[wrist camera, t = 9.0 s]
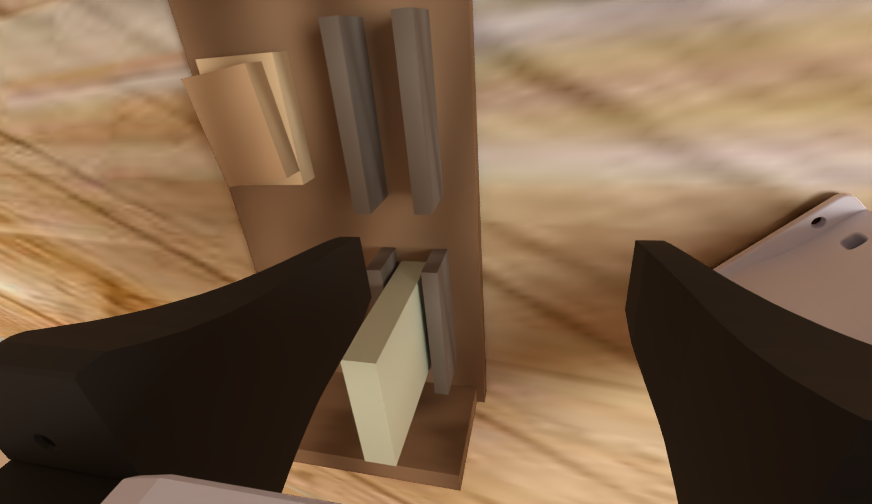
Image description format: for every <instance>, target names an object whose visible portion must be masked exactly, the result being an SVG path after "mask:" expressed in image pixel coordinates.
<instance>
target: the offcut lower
mask: <svg viewBox="0 0 872 504" xmlns="http://www.w3.org/2000/svg"><path fill="white" fill-rule="evenodd" d="M195 60H196V63H197V66H198V70H199V73H200V74H204V73H208V72H212V71H216V70H219V69H223V68H227V67H231V66H235V65H239V64H243V63H250V62H259V61H262V64H263V67H264V70H265V73H266V76H267V79H268V81H269V84H270V87H271V90H272V93H273V96H274V98H275V101H276V104H277V107H278V110H279V113H280V116H281V118H282V121H283V124H284V127H285V130H286V133H287V135H288V138H289V141H290V144H291V147H292V150H293V152H294V155H295V158H296V161H297V164H298V167H299V170H300V171H299V172H297V173H295V174H293V175H292V176H290V177H288V178H285V179H279V180H272V181H265V182H259V183H252V184H246V185H304V184H306V183H307V182H309V181H310V180H312V179H313V178H315V176H314V171H313V167H312V162H311V158H310V153H309V149H308V144H307V140H306V135H305V131H304V126H303V122H302V117H301V113H300V109H299V104H298V100H297V95H296V91H295V86H294V82H293V77H292V73H291V68H290V64H289V59H288V55H287V51H280V52H269V53H258V54H248V55H237V56H227V57H216V58H206V59H195Z"/></svg>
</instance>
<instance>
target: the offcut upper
mask: <svg viewBox="0 0 872 504" xmlns="http://www.w3.org/2000/svg"><path fill="white" fill-rule="evenodd" d="M181 80H182V82H183V84H184V86H185V89H186V91H187V93H188V96H189V98H190V100H191V103H192V105H193V107H194V109H195V112H196V114H197V116H198V119H199V121H200V123H201V125H202V128H203V130H204V132H205V135H206V137H207V139H208V142H209V144H210V146H211V148H212V151H213V153H214V155H215V158H216V160H217V162H218V165H219V167H220V169H221V171H222V174H223V176H224V178H225V181H226V183H227V185H228V187H232V186H239V185H246V184H252V183H259V182H265V181H272V180H279V179H285V178H288V177H290V176H292V175H293V174H295V173H297V172H299V171H300V170H299V167H298V164H297V161H296V158H295V155H294V152H293V150H292V147H291V144H290V141H289V138H288V135H287V133H286V130H285V127H284V124H283V121H282V118H281V116H280V113H279V110H278V107H277V104H276V101H275V98H274V96H273V93H272V90H271V87H270V84H269V81H268V79H267V76H266V73H265V70H264V67H263V64H262V61H259V62H250V63H243V64H239V65H235V66H231V67H227V68H223V69H219V70H216V71H212V72H208V73H204V74H200V75H196V76H192V77H188V78H184V79H181Z"/></svg>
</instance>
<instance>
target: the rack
mask: <svg viewBox="0 0 872 504" xmlns="http://www.w3.org/2000/svg"><path fill="white" fill-rule="evenodd" d="M168 1H169V4H170V7H171V10H172V14H173V17H174V20H175V23H176V26H177V29H178V32H179V35H180V38H181V41H182V44H183V47H184V50H185V54H186V57H187V60H188V63H189V66H190V69H191V72H192V75H193V76H196V75H200V73H199V70H198V66H197V63H196V60H195V59H206V58H216V57H227V56H237V55H248V54H258V53H269V52H280V51H287V55H288V59H289V64H290V68H291V73H292V77H293V82H294V86H295V91H296V95H297V100H298V104H299V109H300V113H301V117H302V122H303V126H304V131H305V135H306V140H307V144H308V149H309V153H310V158H311V162H312V167H313V171H314V176H315V178H313V179H312V180H310V181H309V182H307V183H306V184H304V185H239V186H232V187H229V189H230V192H231V195H232V198H233V201H234V204H235V207H236V210H237V213H238V216H239V219H240V223H241V226H242V229H243V232H244V235H245V238H246V241H247V244H248V247H249V250H250V253H251V256H252V259H253V262H254V266H255V269H256V272H257V273H258V272H260V271H263V270H265V269H267V268H269V267H272V266H274V265H276V264H279V263H281V262H283V261H285V260H287V259H289V258H291V257H293V256H295V255H298V254H300V253H302V252H304V251H306V250H308V249H310V248H312V247H315V246H317V245H319V244H321V243H324V242H326V241H328V240H331V239H334V238H337V237H360V240H361V245H362V250H363V255H364V260H365V265H366V271H367V276H368V281H369V286H370V291H371V296H372V298H371V301H370V303H369V306H368V309H367V312H366V314H365V317H364V319H363V322H364V320H365V319H366V317H367V315H368V314H369V312H370V311H371V309H372V307H373V306H374V304H375V303H376V301H377V299H378V298H379V296H380V295H381V293H382V291H383V290H384V288H385V287H386V285H387V283H388V282H389V280H390V279H391V277H392V275H393V274H394V272H395V270H396V269H397V267H398V266H399V264H400V262H401V261H418V262H426V263H425V265H424V267H423V269H422V271H421V278H422V287H423V296H424V304H425V313H426V322H427V331H428V339H429V348H430V357H431V366H430V369H429V372H428V375H427V378H426V381H425V384H424V386H423V389H422V392H421V395H420V398H419V401H418V404H417V407H416V410H415V413H414V416H413V419H412V422H411V425H410V427H409V430H408V433H407V436H406V439H405V442H404V445H403V448H402V451H401V454H400V457H399V460H398V463H397V466H392V465H386V464H380V463H373V462H367V461H365V459H364V455H363V451H362V447H361V443H360V439H359V435H358V431H357V427H356V423H355V419H354V415H353V411H352V407H351V403H350V399H349V395H348V391H347V387H346V383H345V379H344V375H343V371H342V367H341V363H340V364H339V365H338V367H337V369H336V371H335V372H334V374H333V376H332V378H331V379H330V381H329V383H328V385H327V386H326V388H325V390H324V392H323V394H322V396H321V398H320V400H319V402H318V404H317V406H316V408H315V411H314V413H313V415H312V417H311V420H310V422H309V424H308V427H307V429H306V431H305V434H304V436H303V438H302V441H301V443H300V446H299V448H298V451H297V453H296V456H295V458H294V462H300V463H306V464H311V465H317V466H323V467H329V468H334V469H340V470H346V471H351V472H357V473H363V474H369V475H374V476H380V477H386V478H391V479H397V480H403V481H409V482H414V483H420V484H426V485H432V486H437V487H443V488H449V489H454V490H461V485H462V479H463V474H464V468H465V463H466V457H467V452H468V447H469V441H470V436H471V430H472V425H473V419H474V414H475V409H476V403H477V401H478V402H485V397H486V364H485V336H484V308H483V281H482V253H481V225H480V198H479V170H478V143H477V115H476V87H475V60H474V32H473V5H472V0H168ZM363 322H362V324H363ZM362 324H361V325H362ZM360 327H361V326H360Z"/></svg>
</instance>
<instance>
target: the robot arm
mask: <svg viewBox="0 0 872 504" xmlns="http://www.w3.org/2000/svg"><path fill="white" fill-rule="evenodd" d="M818 217H821V220H820V221H819V222H818V223H816V224H814V225H813V224H811V223H812V221H813V220H814V219H815V218H818ZM371 298H372V296H371V291H370V286H369V281H368V276H367V271H366V265H365V260H364V255H363V250H362V245H361V240H360V237H337V238H334V239H331V240H328V241H326V242H324V243H321V244H319V245H317V246H315V247H312V248H310V249H308V250H306V251H304V252H302V253H300V254H298V255H295V256H293V257H291V258H289V259H287V260H285V261H283V262H281V263H279V264H276V265H274V266H272V267H269V268H267V269H265V270H263V271H260V272H258V273H256V274H253V275H251V276H249V277H247V278H244V279H242V280H239V281H237V282H234V283H232V284H229V285H226V286H223V287H221V288H218V289H215V290H212V291H209V292H206V293H203V294H200V295H197V296H194V297H190V298H187V299H183V300H180V301H176V302H173V303H169V304H165V305H162V306H158V307H155V308H151V309H146V310H142V311H138V312H134V313H129V314H125V315H120V316H115V317H110V318H105V319H100V320H95V321H89V322H83V323H77V324H70V325H64V326H57V327H51V328H45V329H38V330H30V331H25V332H21V333H18V334H16V335H13V336H10V337H8V338H7V339H5V340H3V341H2V342H0V450H1V451H2V452H3V453H4V454H5V455H6V456H7V458H8V459H11V460H10V461H9V462H8V463H7V464H5V465H4V466H3V467H2V468H1V469H0V504H340V503H334V502H329V501H323V500H317V499H311V498H306V497H299V496H294V495H288V494H282V490H283V488H284V485H285V482H286V479H287V476H288V474H289V471H290V468H291V466H292V463H293V461H294V458H295V456H296V453H297V451H298V448H299V446H300V443H301V441H302V438H303V436H304V434H305V431H306V429H307V427H308V424H309V422H310V420H311V417H312V415H313V413H314V411H315V408H316V406H317V404H318V402H319V400H320V398H321V396H322V394H323V392H324V390H325V388H326V386H327V385H328V383H329V381H330V379H331V378H332V376H333V374H334V372H335V371H336V369H337V367H338V365H339V364H340V362H341V360H342V358H343V357H344V355H345V353H346V352H347V350H348V348H349V346H350V345H351V343H352V341H353V339H354V337H355V336H356V334H357V332H358V330H359V328H360V326H361V324H362V322H363V319H364V317H365V314H366V312H367V309H368V306H369V303H370V301H371ZM625 311H626V317H627V323H628V328H629V333H630V338H631V343H632V346H633V349H634V352H635V355H636V358H637V361H638V364H639V367H640V370H641V373H642V376H643V379H644V382H645V384H646V387H647V390H648V393H649V396H650V399H651V402H652V404H653V407H654V410H655V413H656V416H657V419H658V422H659V425H660V428H661V431H662V435H663V438H664V442H665V446H666V450H667V455H668V459H669V463H670V468H671V472H672V477H673V481H674V485H675V490H676V495H677V500H678V504H872V212H871V211H870V210H868V209H866V207H865V206H864V205H863V204H862V203H861V202H860V201H859V199H858V198H856V197H855V196H853V195H851V194H848V193H840V194H837V195H834V196H832V197H831V198H829V199H827V200H826V201H824V202H822V203H821V204H819V205H818V206H816V207H814V208H813V209H811V210H809V211H808V212H806V213H804V214H803V215H801V216H799V217H798V218H796V219H794V220H793V221H791V222H790V223H788V224H786V225H785V226H783V227H781V228H780V229H778V230H776V231H775V232H773V233H771V234H770V235H768V236H767V237H765V238H763V239H762V240H760V241H758V242H757V243H755V244H753V245H752V246H750V247H748V248H747V249H745V250H743V251H742V252H740V253H739V254H737V255H735V256H734V257H732V258H730V259H729V260H727V261H725V262H724V263H722V264H720V265H719V266H717V267H716V268H714V269H711V268H709V267H708V266H706V265H704V264H703V263H701V262H699V261H698V260H696V259H695V258H693V257H691V256H690V255H688V254H687V253H685V252H683V251H682V250H680V249H678V248H677V247H675V246H673V245H671V244H669V243H667V242H665V241H647V240H636V241H635V248H634V254H633V261H632V268H631V274H630V281H629V288H628V294H627V301H626V308H625Z"/></svg>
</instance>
